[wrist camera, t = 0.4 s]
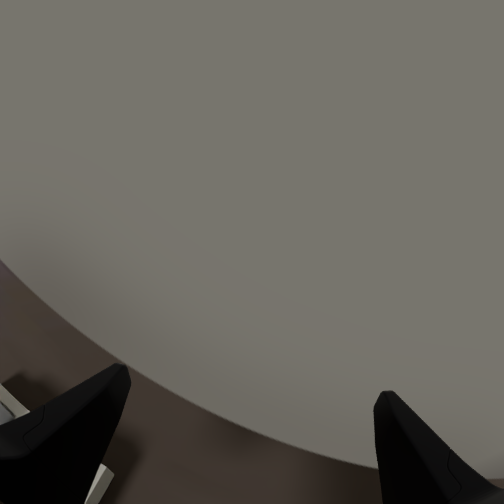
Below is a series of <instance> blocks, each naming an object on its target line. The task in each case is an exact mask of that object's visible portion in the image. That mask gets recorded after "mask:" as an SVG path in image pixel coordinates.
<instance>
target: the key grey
mask: <svg viewBox="0 0 504 504" xmlns="http://www.w3.org/2000/svg"><path fill="white" fill-rule="evenodd" d="M13 419H14V417H13V416H12V415H11V414H10V413H9V412H8V411H7V410H6V409H5V408H4V407H3V406H2V404H1V403H0V425H1V424H4V423H6V422H9V421H11V420H13Z"/></svg>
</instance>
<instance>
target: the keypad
mask: <svg viewBox="0 0 504 504" xmlns="http://www.w3.org/2000/svg"><path fill="white" fill-rule="evenodd" d="M0 403H1V404H2V406H3V407H4V408H5V409H6V410H7V411H8V412H9V413H10V414H11V415H12V416H13V417H14V419H16V418H18V417H20V416H22V415H25V414H27V413H29V412H30V411H29V410H27V409H26V408H25V407H24V406H23V405H22V404H21V403H20V402H19V401H17V400H16V399H15V398H14V397H13V396H12V395H11V394H10V393H9V392H8V391H7V390H6V389H5V388H4V387H3V386H2V385H1V384H0ZM113 477H114V474H113V473H112V472H111V471H110V470H109V469H108V468H107V467H106V466H104V465H103V464H100V467H99V469H98V471H97V474H96V476H95V479H94V481H93V483H92V486H91V488H90V491H89V493H88V496H87V499H86V501H85V504H98V503H99V502H100V500H101V498H102V496H103V495H104V493H105V491H106V489H107V488H108V486H109V484H110V482H111V480H112V479H113Z"/></svg>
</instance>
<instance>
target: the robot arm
mask: <svg viewBox="0 0 504 504" xmlns="http://www.w3.org/2000/svg"><path fill="white" fill-rule="evenodd" d="M130 387H131V378H130V375H129V372H128V368H127V366H126V365H124V364H120V363H114V364H113V365H111V366H109V367H107V368H106V369H104V370H102V371H101V372H99V373H97V374H96V375H94V376H92V377H91V378H89V379H87V380H85V381H84V382H82V383H80V384H79V385H77V386H75V387H73V388H72V389H70V390H68V391H66V392H65V393H63V394H61V395H60V396H58V397H56V398H54V399H53V400H51V401H49V402H47V403H46V404H45V405H42V406H40V407H38V408H36V409H35V410H33V411H31V412H29V413H27V414H25V415H22V416H20V417H18V418H16V419H13V420H11V421H9V422H6V423H4V424H1V425H0V504H85V501H86V499H87V496H88V493H89V491H90V488H91V486H92V483H93V481H94V479H95V476H96V474H97V471H98V469H99V467H100V464H101V462H102V459H103V457H104V455H105V452H106V450H107V448H108V445H109V443H110V441H111V439H112V436H113V434H114V432H115V430H116V427H117V425H118V423H119V420H120V418H121V415H122V412H123V409H124V405H125V402H126V399H127V396H128V393H129V390H130ZM373 412H374V430H375V447H376V454H377V461H378V468H379V476H380V483H381V491H382V500H383V504H504V489H502V488H499V487H497V486H495V485H493V484H492V483H490V482H489V481H488V480H487V479H485V478H484V477H483V476H481V475H480V474H479V473H477V472H476V471H475V470H474V469H472V468H471V467H470V466H469V465H468V464H467V463H465V462H464V461H463V460H462V459H461V458H460V457H459V456H458V455H457V454H456V453H455V452H454V451H453V450H452V449H450V447H449V446H448V445H447V444H446V443H445V442H444V441H443V440H442V439H441V438H440V437H439V436H438V435H437V434H436V433H435V432H434V431H433V430H432V429H431V428H430V427H429V426H428V425H427V424H426V423H425V422H424V421H423V420H422V419H421V418H420V417H419V416H418V415H417V414H416V413H415V412H414V411H413V410H412V409H411V408H410V407H409V406H408V405H407V404H406V403H405V402H404V401H403V400H402V399H401V398H400V397H399V396H398V395H397V394H396V393H395V392H393V391H382V392H381V393H380V395H379V397H378V399H377V402H376V403H375V405H374V410H373Z"/></svg>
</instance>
